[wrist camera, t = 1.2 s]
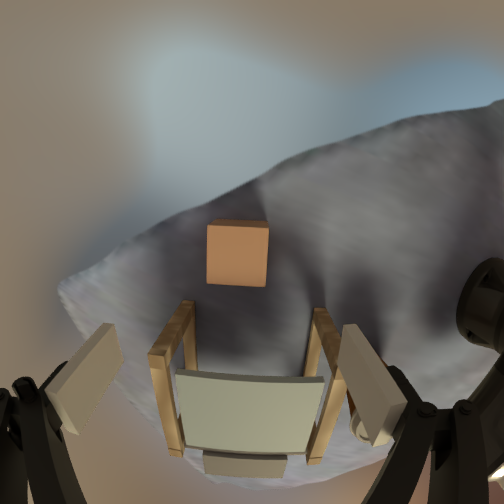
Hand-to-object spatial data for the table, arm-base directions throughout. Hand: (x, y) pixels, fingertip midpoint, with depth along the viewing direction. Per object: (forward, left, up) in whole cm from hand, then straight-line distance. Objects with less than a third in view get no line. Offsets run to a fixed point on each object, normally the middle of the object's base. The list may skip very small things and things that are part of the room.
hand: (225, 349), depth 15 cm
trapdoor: (-1, +17, -9) cm, 19 cm away
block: (+1, -2, -20) cm, 20 cm away
